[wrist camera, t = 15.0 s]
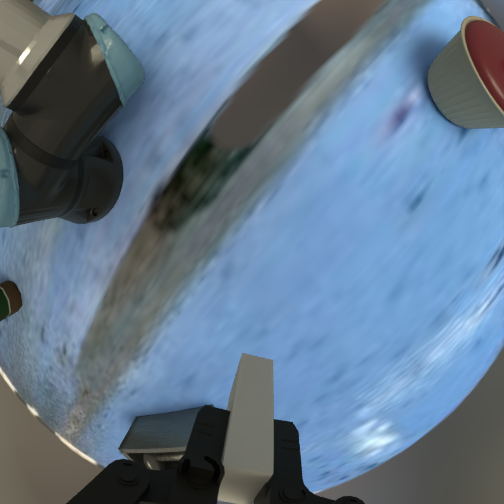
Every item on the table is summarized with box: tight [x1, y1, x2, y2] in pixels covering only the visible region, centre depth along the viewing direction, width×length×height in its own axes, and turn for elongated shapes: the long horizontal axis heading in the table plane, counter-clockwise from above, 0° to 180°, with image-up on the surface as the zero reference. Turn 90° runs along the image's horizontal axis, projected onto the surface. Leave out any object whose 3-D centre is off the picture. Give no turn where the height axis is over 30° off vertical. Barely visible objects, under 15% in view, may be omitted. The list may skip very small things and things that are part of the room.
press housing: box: [118, 405, 214, 469], centre depth 45 cm, size 20×12×11 cm, turn 113°
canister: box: [427, 16, 504, 129], centre depth 23 cm, size 18×18×21 cm
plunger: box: [142, 451, 185, 470], centre depth 42 cm, size 18×8×8 cm, turn 113°
